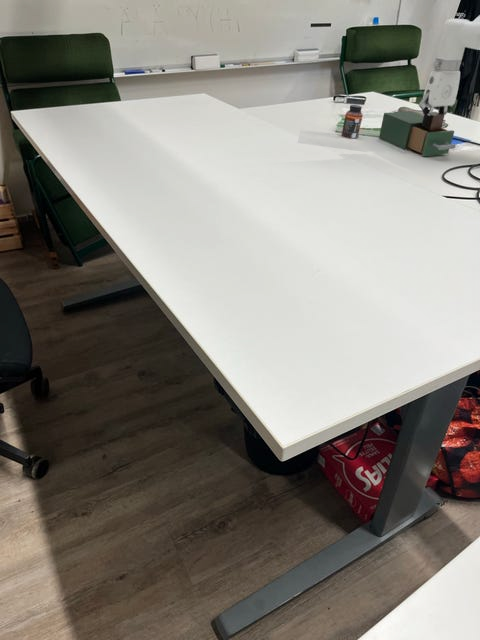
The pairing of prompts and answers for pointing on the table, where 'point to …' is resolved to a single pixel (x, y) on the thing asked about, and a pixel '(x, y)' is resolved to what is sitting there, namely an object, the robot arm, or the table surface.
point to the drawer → (430, 140)
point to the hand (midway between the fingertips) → (431, 126)
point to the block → (436, 120)
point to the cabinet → (399, 127)
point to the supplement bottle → (352, 122)
